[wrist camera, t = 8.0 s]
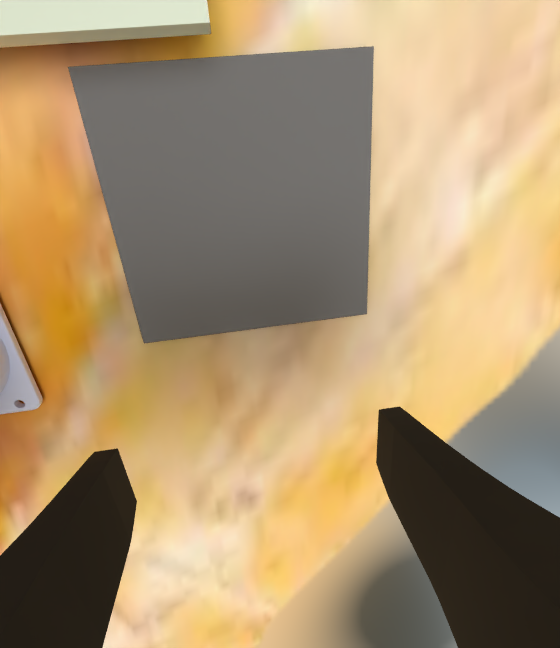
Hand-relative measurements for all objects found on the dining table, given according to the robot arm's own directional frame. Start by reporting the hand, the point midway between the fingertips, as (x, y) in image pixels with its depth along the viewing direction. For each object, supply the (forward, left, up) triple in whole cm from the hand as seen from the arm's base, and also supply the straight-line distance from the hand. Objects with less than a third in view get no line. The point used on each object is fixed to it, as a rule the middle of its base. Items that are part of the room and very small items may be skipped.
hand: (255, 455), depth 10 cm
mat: (+1, +5, -10) cm, 12 cm away
